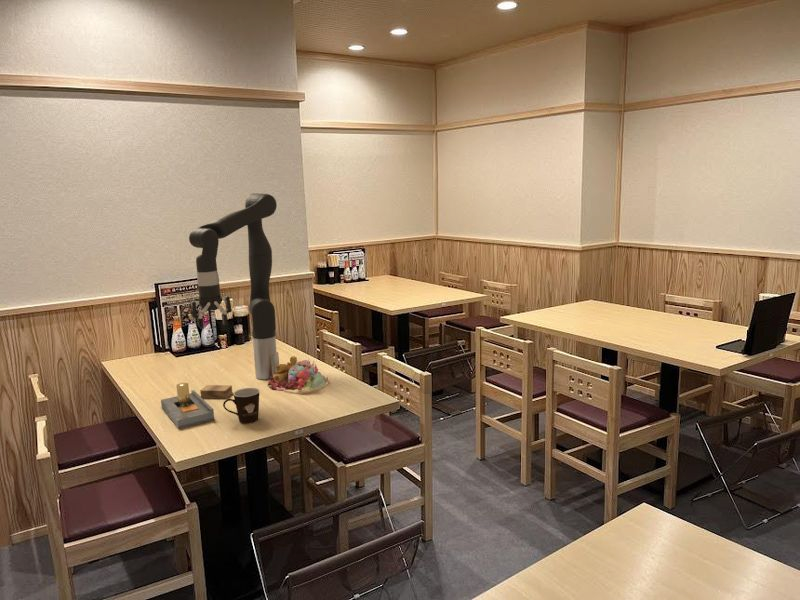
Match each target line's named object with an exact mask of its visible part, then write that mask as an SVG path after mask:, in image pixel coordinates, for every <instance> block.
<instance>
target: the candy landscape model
mask: <svg viewBox="0 0 800 600" xmlns="http://www.w3.org/2000/svg"><path fill="white" fill-rule="evenodd" d="M275 369H276V371H277V372H275V373H274V375H273V376H272V377H270V379H268V380H267V386H270V387H269V389H273V390H276V391H284V392H285V393H288V394H293V395H303V394H308V393H313V392H316V391H319V390H321V389H323V388H326V386H329V383H330V379H329V377H328V376H327V377H326V376H325V375H323V374H322V373H321V371H319V368H318V366H317V364H316V363H315V361H313V362H312V363H311V360H310V359H303V360H302V361H301V360H299V361H298V358H297V356H295V355H293V356H290V358H289V362H288V361H287V363H279V365H277V366H276V367H275Z"/></svg>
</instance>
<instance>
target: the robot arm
mask: <svg viewBox="0 0 800 600" xmlns="http://www.w3.org/2000/svg"><path fill="white" fill-rule="evenodd" d="M244 205H245V206H244V208H242V209H239V210H235V211H233V212H229V213H227V214H224V215H223V216H221V217H219V218H217V219H216V220H214V221H212V222H209V223H206V224H203V225H200V226H198V227H196V228H194V229H192V231H191V232H190V233H189V237H188V240H189V243H190V245H191V246H192V247H195V248H197V249H201V250H202V251H201V254H200V255H197V256H196V258H195V265H196V279H197V280H196V281H197V288H198V289H197V290H198V297H199V299H198V300H191V301H190V315H191V317H192V318H193V319H196V320H197V326H198V327H199V329H200V330H202V329H204V322H203V316H204V314H205V313H207V312H211V311H217V310H218V311H219V312H220V313H221V322H222V325H224V326H225V325H227V323H228V314H229V313H231V312H232V304H231V298H230V296H227V295H225V296H221V286H220V278H219V277H220V276H219V274H218V273H219V272H218V265H217V255H218V250H219V241H220V239H224V238H226V237H229V236H230V235H231V234H233V233H235V232H237V231H238V230H240V229H242V228H244V227H245V226H247V238H248V241H247V242H248V270H249V279H250V296H249V297H250V299H249V305H248V306H249V313H250V315H251V319H252V322H251V323H252V331H251V334H252V346H253V347H252V348H253V356H254V357H253V358H254V359H253V360H254V369H255V371H254V372H255V378H256V379H259V380H270V377H272V376H273V375H274V373H275V372H277V371H276V369H275V367H276V366H277V365H279V364H280V358H279V352H278V351H277V340H276V331H277V330H276V328H277V323H276V311H275V310H276V309H275V305H274V304H273V302H271V297H270V281H271V280H270V279H271V275H272V268H273V251H272V250H273V249H272V247H271V243H270V242H269V240H268V237H267V236H266V234H265V231H264V228H263V219H266V218H268V217H271V216H272V215H274V214H275V213H276V210H277V199H276V198H275V197H274V196H273V195H271V194H269V193H257V192H256V193H254V192H253V193H249V194H248V195H247V197H246V199H245V204H244ZM222 302H223V303H225V309H224V308H223V306H222V305H221V304H222ZM198 305H199V306H201V307H200V308H199V309H198V313H197V307H198Z"/></svg>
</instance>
